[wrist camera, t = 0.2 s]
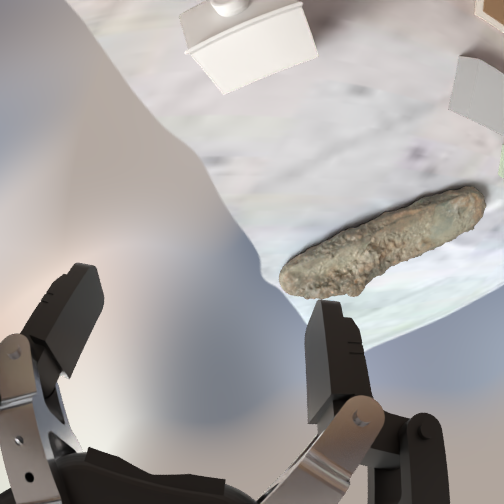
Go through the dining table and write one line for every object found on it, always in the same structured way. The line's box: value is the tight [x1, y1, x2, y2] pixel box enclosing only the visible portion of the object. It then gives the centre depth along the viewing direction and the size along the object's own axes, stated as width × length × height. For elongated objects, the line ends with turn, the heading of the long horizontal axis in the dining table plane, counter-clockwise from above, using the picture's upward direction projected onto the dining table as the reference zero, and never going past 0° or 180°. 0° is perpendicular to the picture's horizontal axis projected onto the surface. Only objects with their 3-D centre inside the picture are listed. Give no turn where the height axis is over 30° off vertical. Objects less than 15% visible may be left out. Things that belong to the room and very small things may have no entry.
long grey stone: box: [279, 186, 486, 299], centre depth 41 cm, size 35×5×10 cm
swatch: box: [474, 0, 504, 34], centre depth 18 cm, size 7×7×1 cm
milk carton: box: [179, 0, 319, 95], centre depth 20 cm, size 7×7×19 cm
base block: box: [448, 56, 504, 136], centre depth 26 cm, size 8×8×5 cm
